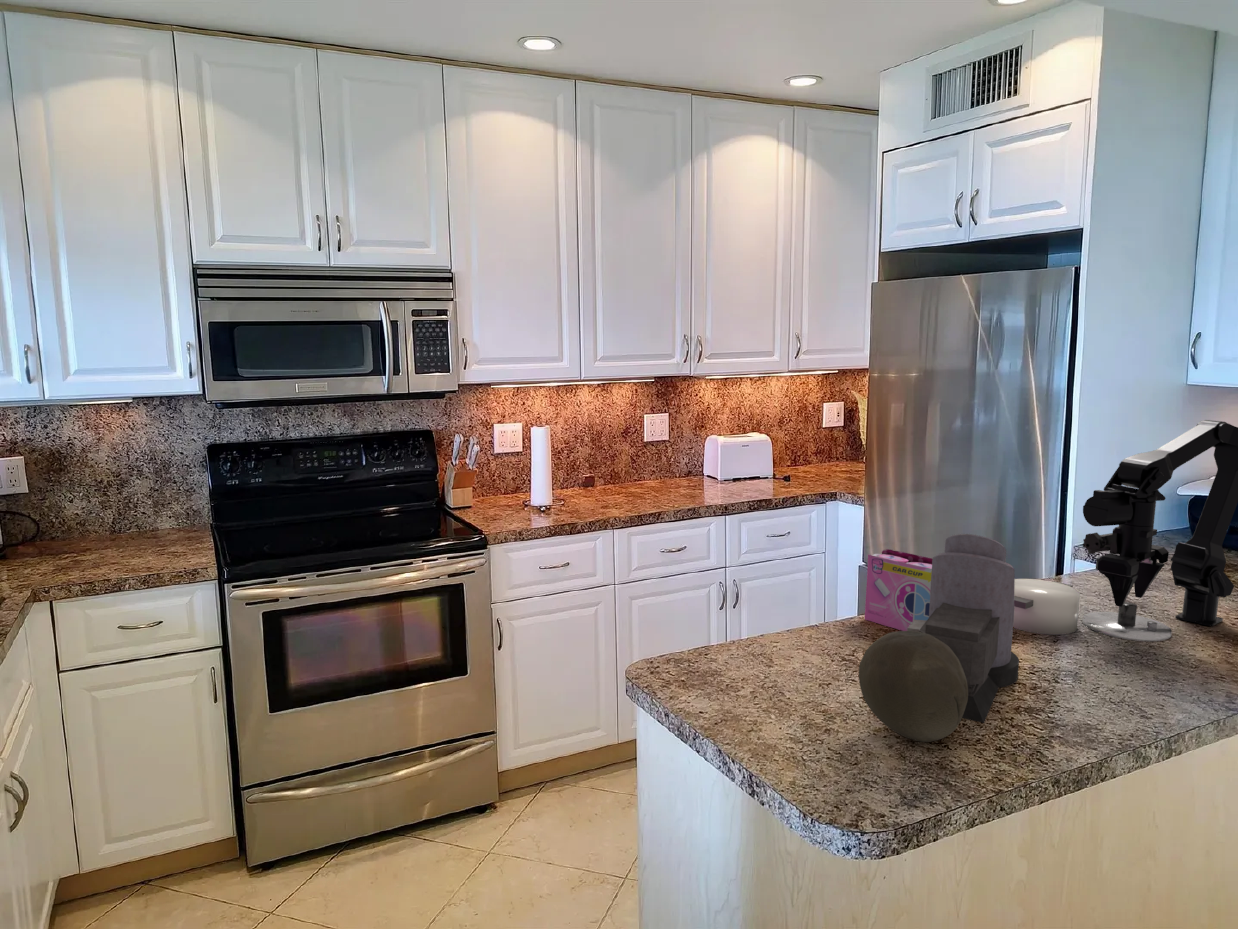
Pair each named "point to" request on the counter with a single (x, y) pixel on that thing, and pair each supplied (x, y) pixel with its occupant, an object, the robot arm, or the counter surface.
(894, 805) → the counter surface
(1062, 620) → the cooker pot
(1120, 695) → the counter surface
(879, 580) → the pink product box
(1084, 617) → the cooker lid
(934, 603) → the juicer
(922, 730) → the cantaloupe
